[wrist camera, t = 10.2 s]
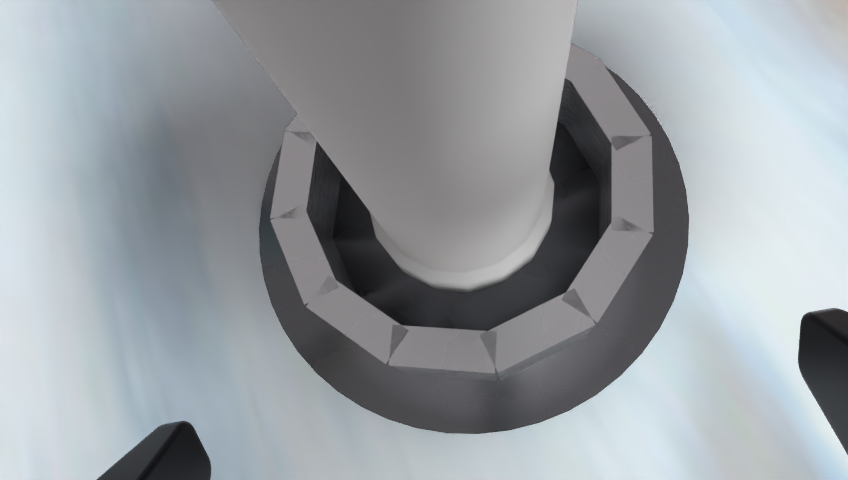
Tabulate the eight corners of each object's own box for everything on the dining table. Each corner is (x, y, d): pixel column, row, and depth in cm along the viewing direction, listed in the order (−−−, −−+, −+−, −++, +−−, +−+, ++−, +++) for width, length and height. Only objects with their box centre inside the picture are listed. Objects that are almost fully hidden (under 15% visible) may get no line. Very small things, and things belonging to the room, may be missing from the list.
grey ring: (759, 157, 19) (811, 99, 15) (531, 531, 17) (534, 557, 13) (417, -11, 22) (400, -88, 19) (194, 278, 20) (132, 249, 17)
